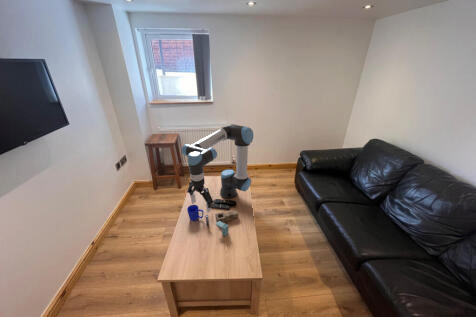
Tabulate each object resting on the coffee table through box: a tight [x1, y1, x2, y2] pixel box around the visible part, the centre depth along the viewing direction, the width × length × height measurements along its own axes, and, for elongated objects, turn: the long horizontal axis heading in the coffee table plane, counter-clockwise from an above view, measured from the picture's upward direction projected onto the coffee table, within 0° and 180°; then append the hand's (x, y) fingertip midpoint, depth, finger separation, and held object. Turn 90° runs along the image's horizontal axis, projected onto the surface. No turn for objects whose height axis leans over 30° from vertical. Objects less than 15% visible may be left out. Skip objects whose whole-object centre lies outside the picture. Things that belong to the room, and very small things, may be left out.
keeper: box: [215, 221, 229, 237], centre depth 133 cm, size 4×8×7 cm, turn 57°
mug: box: [186, 204, 204, 222], centre depth 145 cm, size 8×12×10 cm
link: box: [215, 209, 239, 224], centre depth 145 cm, size 16×6×5 cm, turn 107°
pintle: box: [204, 214, 210, 226], centre depth 140 cm, size 2×2×8 cm
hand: (201, 206), depth 120 cm, fingers open, 13 cm apart
